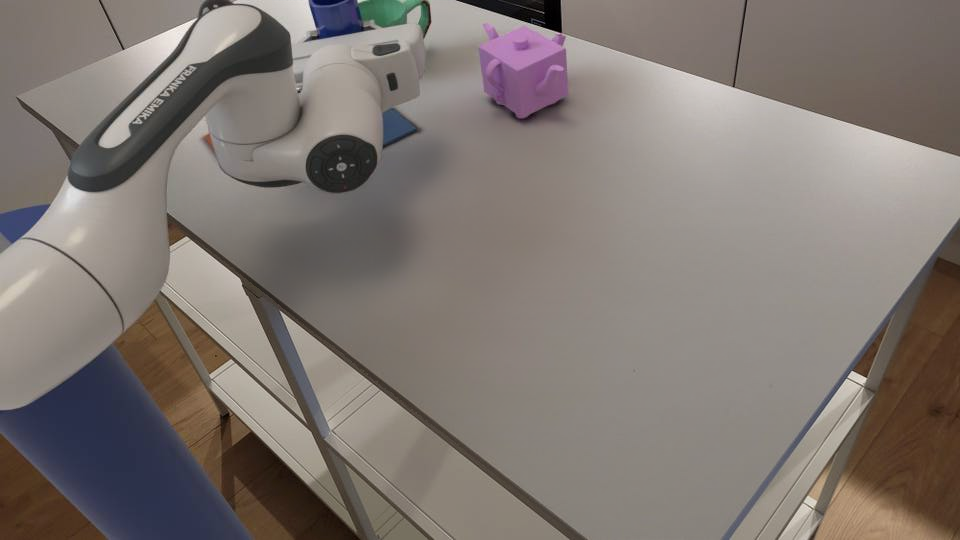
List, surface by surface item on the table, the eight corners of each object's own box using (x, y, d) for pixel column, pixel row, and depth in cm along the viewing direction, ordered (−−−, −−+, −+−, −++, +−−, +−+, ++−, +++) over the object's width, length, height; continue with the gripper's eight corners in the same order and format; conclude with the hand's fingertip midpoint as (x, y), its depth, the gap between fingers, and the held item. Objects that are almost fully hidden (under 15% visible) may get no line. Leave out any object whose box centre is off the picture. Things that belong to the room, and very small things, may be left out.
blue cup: (343, 92, 97) (320, 12, 90) (324, 76, 101) (300, -3, 93) (382, 75, 99) (363, -6, 91) (362, 60, 103) (342, -19, 95)
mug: (379, 98, 112) (363, 36, 105) (343, 76, 118) (327, 16, 111) (455, 58, 118) (445, -4, 111) (417, 39, 124) (406, -20, 117)
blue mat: (354, 161, 102) (353, 158, 102) (322, 130, 108) (321, 128, 108) (416, 130, 105) (416, 128, 105) (382, 102, 112) (381, 100, 111)
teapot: (607, 106, 104) (607, 40, 97) (530, 145, 99) (524, 79, 93) (529, 59, 115) (524, -3, 108) (457, 92, 111) (447, 30, 104)
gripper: (261, 125, 89) (269, 67, 99) (433, 94, 89) (424, 39, 99) (242, 77, 84) (253, 21, 94) (423, 45, 84) (415, -8, 94)
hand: (342, 30), depth 96 cm, fingers closed on blue cup, 6 cm apart
